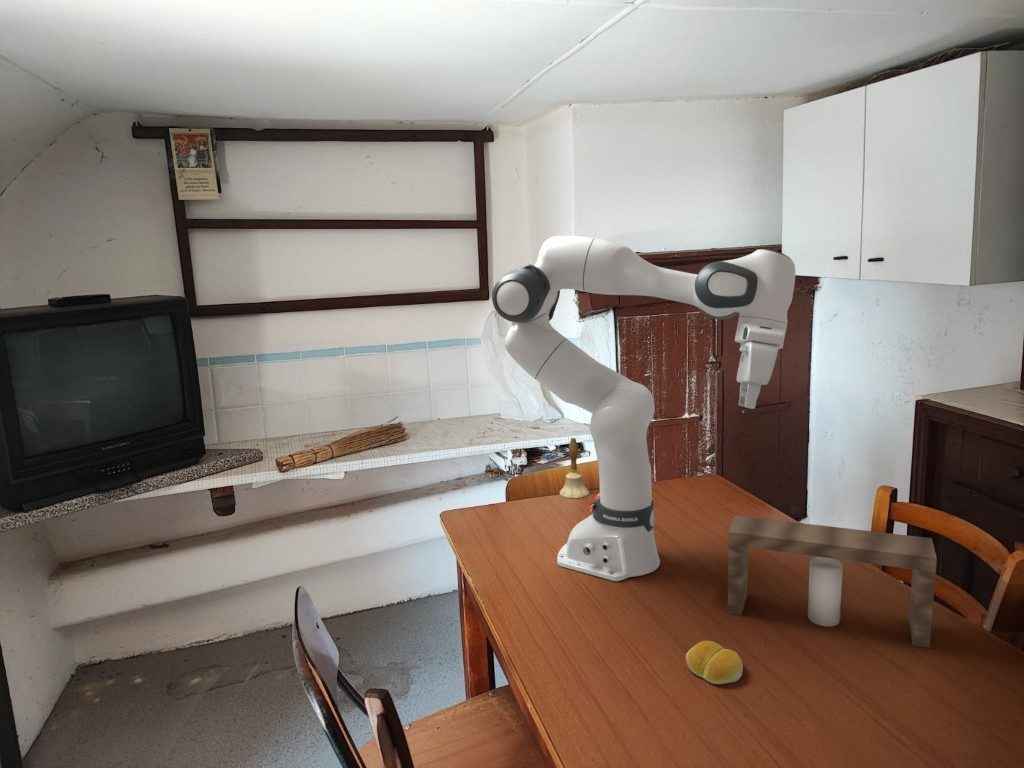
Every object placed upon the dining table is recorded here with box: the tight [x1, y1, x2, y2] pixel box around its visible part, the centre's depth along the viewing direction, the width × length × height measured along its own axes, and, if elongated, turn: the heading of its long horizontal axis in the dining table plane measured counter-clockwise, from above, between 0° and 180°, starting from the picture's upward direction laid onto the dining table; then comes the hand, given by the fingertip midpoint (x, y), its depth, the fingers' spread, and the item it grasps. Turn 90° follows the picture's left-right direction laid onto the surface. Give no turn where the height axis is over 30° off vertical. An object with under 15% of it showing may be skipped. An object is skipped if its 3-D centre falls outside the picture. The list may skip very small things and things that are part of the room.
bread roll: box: [685, 640, 744, 685], centre depth 117 cm, size 8×9×4 cm
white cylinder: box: [807, 556, 843, 628], centre depth 128 cm, size 5×5×11 cm
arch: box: [727, 515, 938, 649], centre depth 128 cm, size 33×8×16 cm, turn 65°
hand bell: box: [559, 437, 590, 499], centre depth 195 cm, size 8×8×16 cm
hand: (746, 407), depth 135 cm, fingers open, 8 cm apart
